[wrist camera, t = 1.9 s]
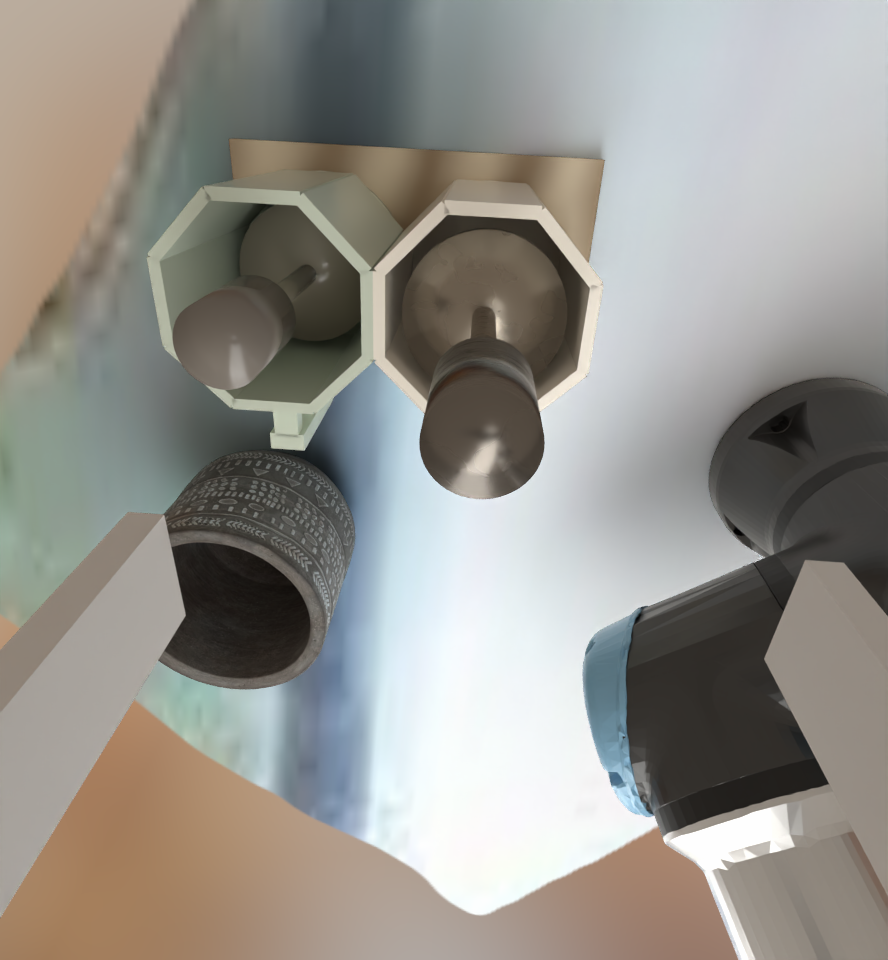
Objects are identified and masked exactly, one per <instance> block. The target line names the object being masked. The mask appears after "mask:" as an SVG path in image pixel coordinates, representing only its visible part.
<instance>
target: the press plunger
mask: <svg viewBox="0 0 888 960" xmlns="http://www.w3.org/2000/svg"><path fill="white" fill-rule="evenodd" d="M566 324H567V300H566V294H565V290H564V287H563V284H562V281H561V279H560V277H559V275H558V273H557V271H556V268H555V267H554V265H553V264H552V262H551V261H550V259H549V258H548V257H547V256H546V255H545V253H544V252H543V251H542V250H541V249H540V248H538V247H537V246H536V245H535V244H534V243H532V242H531V241H529V240H527V239H526V238H524V237H522V236H520V235H518V234H515V233H513V232H510V231H506V230H503V229H495V228H476V229H470V230H466V231H462V232H459V233H456V234H454V235H452V236H450V237H447V238H446V239H444V240H443V241H441V242H439V243H438V244H437V245H435V246H434V247H433V248H432V249H431V250H429V251H428V252H427V254H426V255H425V256H424V257H423V258H422V259H421V261H420V262H419V263H418V265H417V266H416V268H415V270H414V272H413V273H412V275H411V277H410V279H409V281H408V284H407V287H406V290H405V293H404V298H403V303H402V325H403V330H404V335H405V338H406V341H407V344H408V347H409V349H410V351H411V353H412V355H413V356H414V358H415V359H416V361H417V362H418V364H419V365H420V366H421V367H422V368H423V370H424V371H425V372H426V373H427V374H429V375H430V376H431V377H432V383H431V387H430V392H429V397H428V401H427V406H426V410H425V415H424V419H423V424H422V429H421V433H420V452H421V457H422V460H423V463H424V465H425V467H426V469H427V470H428V472H429V473H430V475H431V476H432V477H433V478H434V479H435V480H436V481H437V482H438V483H439V484H440V485H441V486H443V487H444V488H446V489H447V490H449V491H451V492H453V493H455V494H458V495H460V496H464V497H468V498H474V499H490V498H496V497H501V496H504V495H507V494H509V493H511V492H513V491H515V490H517V489H518V488H520V487H521V486H523V485H524V484H525V483H526V482H527V481H528V480H529V479H530V478H531V477H532V476H533V475H534V473H535V472H536V470H537V469H538V467H539V465H540V462H541V460H542V457H543V452H544V433H543V428H542V422H541V417H540V411H539V406H538V401H537V395H536V390H535V384H534V378H535V377H536V376H538V375H539V374H540V373H541V372H542V371H543V370H544V369H545V368H546V367H547V366H548V364H549V363H550V362H551V360H552V359H553V357H554V356H555V355H556V353H557V351H558V349H559V347H560V345H561V342H562V339H563V337H564V333H565V329H566Z"/></svg>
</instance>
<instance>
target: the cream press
mask: <svg viewBox="0 0 888 960" xmlns="http://www.w3.org/2000/svg"><path fill="white" fill-rule="evenodd" d="M476 228H495V229H503V230H506V231H510V232H513V233H515V234H518V235H520V236H522V237H524V238H526V239H527V240H529V241H531V242H532V243H534V244H535V245H536V246H537V247H538V248H540V249H541V250H542V251H543V252H544V253H545V255H546V256H547V257H548V258H549V259H550V261H551V262H552V264H553V265H554V267H555V268H556V271H557V273H558V275H559V277H560V279H561V281H562V284H563V287H564V290H565V294H566V300H567V324H566V329H565V333H564V337H563V339H562V342H561V345H560V347H559V349H558V351H557V353H556V355H555V356H554V357H553V359H552V360H551V362H550V363H549V364H548V366H547V367H546V368H545V369H544V370H543V371H542V372H541V373H540V374H539V375H538V376H536V377H535V378H534V384H535V390H536V395H537V401H538V406H539V411H540V412H541V411H542V410H543V409H545V408H546V407H547V406H549V405H550V404H551V403H553V402H554V401H555V400H557V399H558V398H559V397H561V396H562V395H563V394H565V393H566V392H567V391H568V390H570V389H571V388H572V387H574V386H575V385H576V384H578V383H579V382H580V381H582V380H583V379H584V378H586V377H587V376H586V374H588V373H589V367H590V361H591V356H592V350H593V344H594V338H595V332H596V326H597V321H598V315H599V309H600V303H601V297H602V291H603V284H602V283H603V282H602V281H601V279H600V278H599V277H598V275H597V274H596V273H595V271H594V270H593V269H592V267H591V266H590V265H589V263H588V262H587V261H586V259H585V258H584V257H583V255H582V254H581V253H580V251H579V250H578V249H577V247H576V246H575V245H574V243H573V242H572V241H571V239H570V238H569V237H568V235H567V234H566V233H565V231H564V230H563V229H562V227H561V226H560V225H559V223H558V222H557V221H556V220H555V218H554V217H553V216H552V214H551V213H550V212H549V210H548V209H547V208H546V206H545V205H544V204H543V202H542V201H541V200H540V199H539V197H538V196H537V195H536V193H535V192H534V191H533V189H532V188H531V187H530V185H527V183H513V182H502V181H494V180H479V181H478V180H461V179H457V180H456V181H455V180H454V181H453V182H452V183H451V184H450V185H449V186H448V187H447V188H446V189H445V190H444V191H443V192H442V193H441V194H440V195H439V196H438V197H437V198H436V199H435V200H434V201H433V202H432V203H431V204H430V205H429V206H428V207H427V208H426V209H425V210H424V211H423V212H422V213H421V214H420V215H419V216H418V217H417V218H416V219H415V220H414V221H413V222H412V223H411V224H410V225H409V226H408V227H407V228H406V229H405V230H404V231H403V233H402V234H401V235H400V236H399V238H398V239H397V240H396V241H395V243H394V244H393V245H392V246H391V247H390V249H389V250H388V251H387V252H386V254H385V255H384V256H383V257H382V259H381V260H380V261H379V262H378V264H377V265H376V266H375V267H374V270H373V360H375V364H376V365H377V366H378V367H379V368H380V369H381V370H382V371H383V372H384V373H385V374H386V375H387V376H388V377H389V378H390V379H391V380H392V381H393V382H394V383H395V384H396V385H397V386H398V387H399V388H400V389H401V390H402V391H403V392H404V393H405V394H406V395H407V396H408V397H409V398H410V399H411V400H412V402H413V403H414V404H415V405H416V406H417V407H418V408H419V409H420V410H421V411H422V412H423V413H424V414H425V410H426V406H427V401H428V397H429V392H430V387H431V383H432V377H431V376H430V375H429V374H427V373H426V372H425V371H424V370H423V368H422V367H421V366H420V365H419V364H418V362H417V361H416V359H415V358H414V356H413V355H412V353H411V351H410V349H409V347H408V344H407V341H406V338H405V335H404V330H403V325H402V303H403V298H404V293H405V290H406V287H407V284H408V281H409V279H410V277H411V275H412V273H413V272H414V270H415V268H416V266H417V265H418V263H419V262H420V261H421V259H422V258H423V257H424V256H425V255H426V254H427V252H428V251H429V250H431V249H432V248H433V247H434V246H435V245H437V244H438V243H439V242H441V241H443V240H444V239H446V238H447V237H450V236H452V235H454V234H456V233H459V232H462V231H466V230H470V229H476Z"/></svg>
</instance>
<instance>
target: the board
mask: <svg viewBox="0 0 888 960" xmlns="http://www.w3.org/2000/svg"><path fill="white" fill-rule="evenodd" d="M229 146H230V155H231V164H232V174H233V180H235V179H240V178H245V177H250V176H254V175H259V174H264V173H269V172H274V171H279V170H284V169H289V170H306V171H312V170H324V171H332V172H340V173H353V175H355V174H356V175H357V177H358V178H359V179H360V180H361V181H362V182H363V184H364V185H365V186H366V187H368V188H369V189H370V190H371V191H373V192H374V193H375V194H376V195H377V196H378V197H379V198H380V199H381V200H382V201H383V203H384V204H385V205H386V207H387V208H388V209H389V211H390V212H391V214H392V216H393V217H394V219H395V220H396V221H397V223H398V224H399V225H400V226H401V227H402V228H403V231H404V230H405V229H406V228H407V227H408V226H409V225H410V224H411V223H412V222H413V221H414V220H415V219H416V218H417V217H418V216H419V215H420V214H421V213H422V212H423V211H424V210H425V209H426V208H427V207H428V206H429V205H430V204H431V203H432V202H433V201H434V200H435V199H436V198H437V197H438V196H439V195H440V194H441V193H442V192H443V191H444V190H445V189H446V188H447V187H448V186H449V185H450V184H451V183H452V182H453V181H454V180H455V181H456V180H457V179H461V180H478V181H479V180H494V181H502V182H513V183H527V185H530V187H531V188H532V189H533V191H534V192H535V193H536V195H537V196H538V197H539V199H540V200H541V201H542V202H543V204H544V205H545V206H546V208H547V209H548V210H549V212H550V213H551V214H552V216H553V217H554V218H555V220H556V221H557V222H558V223H559V225H560V226H561V227H562V229H563V230H564V231H565V233H566V234H567V235H568V237H569V238H570V239H571V241H572V242H573V243H574V245H575V246H576V247H577V249H578V250H579V251H580V253H581V254H582V255H583V257H584V258H585V259H586V261H587V262H588V263H589V257H590V251H591V244H592V238H593V231H594V225H595V219H596V212H597V206H598V200H599V193H600V187H601V180H602V174H603V168H604V161H605V160H602V159H586V158H568V157H551V156H533V155H516V154H498V153H480V152H463V151H445V150H427V149H410V148H392V147H375V146H357V145H339V144H322V143H304V142H287V141H269V140H251V139H229ZM403 231H402V232H403Z"/></svg>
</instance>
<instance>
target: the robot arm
mask: <svg viewBox="0 0 888 960" xmlns="http://www.w3.org/2000/svg"><path fill="white" fill-rule="evenodd" d="M709 490H710V495H711V499H712V502H713V505H714V507H715V509H716V511H717V512H718V514H719V516H720V517H721V519H722V521H723V522H724V524H725V526H726V527H727V528H728V530H729V531H730V532H731V533H732V534H733V535H734V536H735V537H736V538H737V539H738V540H739V541H740V542H741V543H743V544H744V545H746V546H747V547H749V548H750V549H752V550H754V551H755V552H757V553H758V554H760V555H762V556H763V557H765V558H764V559H762V560H759V561H757V562H755V563H751V564H749V565H746V566H744V567H742V568H739V569H737V570H735V571H732V572H730V573H728V574H725V575H723V576H721V577H718V578H716V579H714V580H711V581H709V582H707V583H704V584H702V585H700V586H697V587H695V588H693V589H690V590H688V591H686V592H683V593H681V594H678V595H676V596H673V597H671V598H668V599H666V600H663V601H661V602H659V603H656V604H654V605H651V606H644V607H641V608H638V609H637V610H635V611H634V612H633V613H632V614H631V615H629V616H627V617H626V618H624V619H622V620H620V621H618V622H616V623H614V624H611V625H609V626H607V627H605V628H603V629H601V630H600V631H598V632H597V633H596V634H595V635H594V636H593V637H592V639H591V640H590V642H589V644H588V647H587V649H586V652H585V658H584V662H583V690H584V698H585V705H586V710H587V715H588V720H589V724H590V728H591V732H592V736H593V740H594V743H595V747H596V750H597V753H598V756H599V758H600V761H601V764H602V766H603V768H604V769H605V770H606V771H608V774H609V778H610V782H611V786H612V788H613V790H614V792H615V793H616V795H617V797H618V798H619V800H620V801H621V803H622V804H623V805H624V806H625V807H626V808H627V809H628V810H629V811H631V812H632V813H635V814H638V815H644V816H646V817H651V816H654V815H655V818H656V821H657V823H658V826H659V829H660V832H661V834H662V837H663V839H664V842H665V844H666V845H668V846H669V847H671V848H672V849H674V850H676V851H677V852H679V853H680V854H682V855H683V856H685V857H687V858H688V859H690V860H691V861H693V862H695V863H696V864H697V865H698V866H699V867H700V869H701V870H702V871H703V872H704V873H705V876H706V878H707V881H708V884H709V886H710V888H711V891H712V893H713V896H714V899H715V901H716V904H717V906H718V909H719V911H720V914H721V916H722V919H723V922H724V924H725V927H726V929H727V932H728V934H729V937H730V939H731V942H732V944H733V947H734V949H735V952H736V954H737V957H738V959H739V960H888V394H886V393H885V392H883V391H882V390H880V389H878V388H876V387H874V386H872V385H869V384H867V383H864V382H860V381H856V380H851V379H842V378H825V379H816V380H810V381H806V382H802V383H798V384H795V385H792V386H789V387H786V388H784V389H781V390H779V391H777V392H775V393H773V394H771V395H769V396H767V397H766V398H764V399H762V400H761V401H759V402H758V403H756V404H755V405H754V406H752V407H751V408H750V409H748V410H747V411H746V412H745V413H744V414H743V415H741V416H740V417H739V418H738V419H737V420H736V421H735V423H734V424H733V425H732V426H731V427H730V428H729V430H728V431H727V432H726V434H725V435H724V437H723V438H722V440H721V441H720V443H719V445H718V447H717V449H716V451H715V454H714V456H713V459H712V463H711V467H710V472H709ZM185 616H186V614H185V609H184V605H183V600H182V595H181V591H180V586H179V581H178V577H177V572H176V567H175V563H174V558H173V553H172V549H171V544H170V539H169V535H168V530H167V525H166V520H165V516H164V515H162V514H148V513H134V512H128V513H127V514H126V515H125V516H124V517H123V518H122V519H121V520H120V521H119V522H118V523H117V524H116V526H115V527H114V528H113V529H112V530H111V531H110V532H109V533H108V534H107V535H106V536H105V537H104V539H103V540H102V541H101V542H100V543H99V544H98V545H97V546H96V547H95V548H94V549H93V550H92V551H91V553H90V554H89V555H88V556H87V557H86V558H85V559H84V560H83V561H82V562H81V563H80V564H79V566H78V567H77V568H76V569H75V570H74V571H73V572H72V573H71V574H70V575H69V576H68V577H67V578H66V580H65V581H64V582H63V583H62V584H61V585H60V586H59V587H58V588H57V589H56V590H55V591H54V593H53V594H52V595H51V596H50V597H49V598H48V599H47V600H46V601H45V602H44V603H43V604H42V605H41V607H40V608H39V609H38V610H37V611H36V612H35V613H34V614H33V615H32V616H31V617H30V618H29V620H28V621H27V622H26V623H25V624H24V625H23V626H22V627H21V628H20V629H19V630H18V631H17V633H16V634H15V635H14V636H13V637H12V638H11V639H10V640H9V641H8V642H7V643H6V644H5V645H4V647H3V648H2V649H1V650H0V918H1V916H2V914H3V912H4V911H5V909H6V908H7V906H8V904H9V903H10V901H11V899H12V898H13V896H14V895H15V893H16V891H17V890H18V888H19V887H20V885H21V883H22V881H23V880H24V878H25V877H26V875H27V873H28V872H29V870H30V869H31V867H32V865H33V864H34V862H35V860H36V859H37V857H38V855H39V854H40V852H41V851H42V849H43V847H44V846H45V844H46V842H47V841H48V839H49V838H50V836H51V834H52V833H53V831H54V829H55V828H56V826H57V825H58V823H59V821H60V820H61V818H62V816H63V815H64V813H65V811H66V810H67V808H68V807H69V805H70V803H71V802H72V800H73V798H74V797H75V795H76V794H77V792H78V790H79V789H80V787H81V785H82V784H83V782H84V780H85V779H86V777H87V776H88V774H89V772H90V771H91V769H92V767H93V766H94V764H95V762H96V761H97V759H98V758H99V756H100V754H101V753H102V751H103V749H104V748H105V746H106V745H107V743H108V741H109V740H110V738H111V736H112V735H113V733H114V732H115V730H116V728H117V726H118V725H119V723H120V722H121V720H122V718H123V717H124V715H125V714H126V712H127V710H128V709H129V707H130V705H131V704H132V702H133V701H134V699H135V697H136V696H137V694H138V692H139V691H140V689H141V687H142V686H143V684H144V683H145V681H146V679H147V678H148V676H149V674H150V673H151V671H152V670H153V668H154V666H155V665H156V663H157V661H158V660H159V658H160V656H161V655H162V653H163V652H164V650H165V648H166V647H167V645H168V643H169V642H170V640H171V639H172V637H173V635H174V634H175V632H176V630H177V629H178V627H179V625H180V624H181V622H182V621H183V619H184V617H185Z"/></svg>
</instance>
